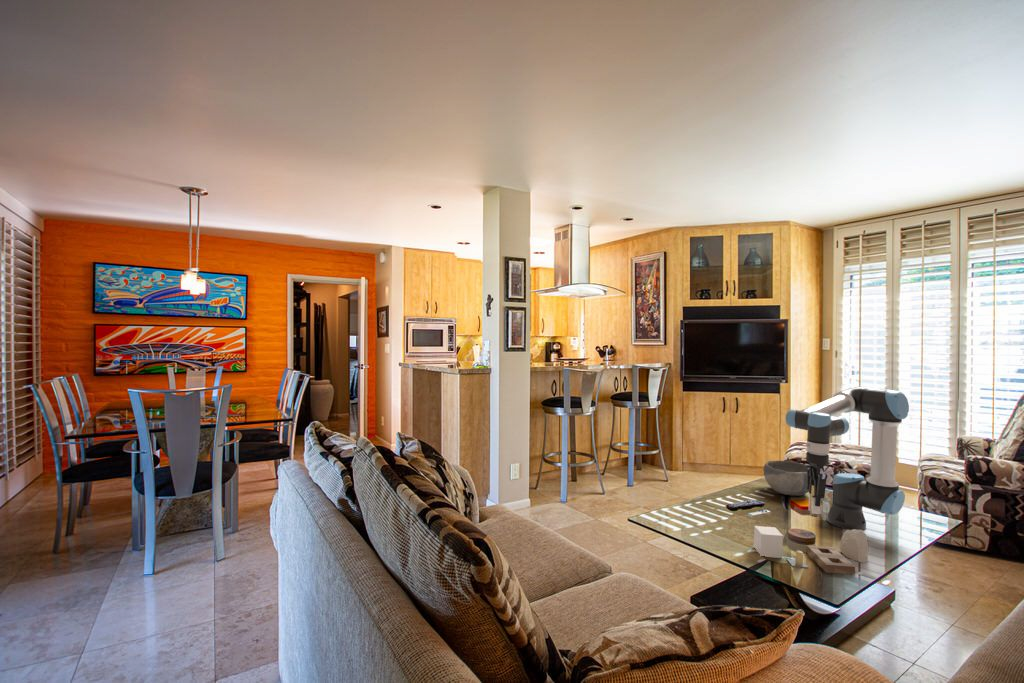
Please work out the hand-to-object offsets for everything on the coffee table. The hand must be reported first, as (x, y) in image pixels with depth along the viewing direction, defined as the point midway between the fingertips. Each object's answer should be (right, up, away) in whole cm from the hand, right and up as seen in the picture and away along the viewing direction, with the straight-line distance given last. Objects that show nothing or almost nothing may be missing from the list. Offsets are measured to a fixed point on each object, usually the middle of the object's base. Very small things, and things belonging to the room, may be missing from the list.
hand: (814, 512), depth 196 cm
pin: (0, -2, 0) cm, 2 cm away
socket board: (+5, -19, -2) cm, 20 cm away
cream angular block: (-9, -19, -4) cm, 21 cm away
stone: (+17, -19, +3) cm, 26 cm away
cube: (-16, -18, +5) cm, 25 cm away
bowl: (+32, -16, +78) cm, 86 cm away
